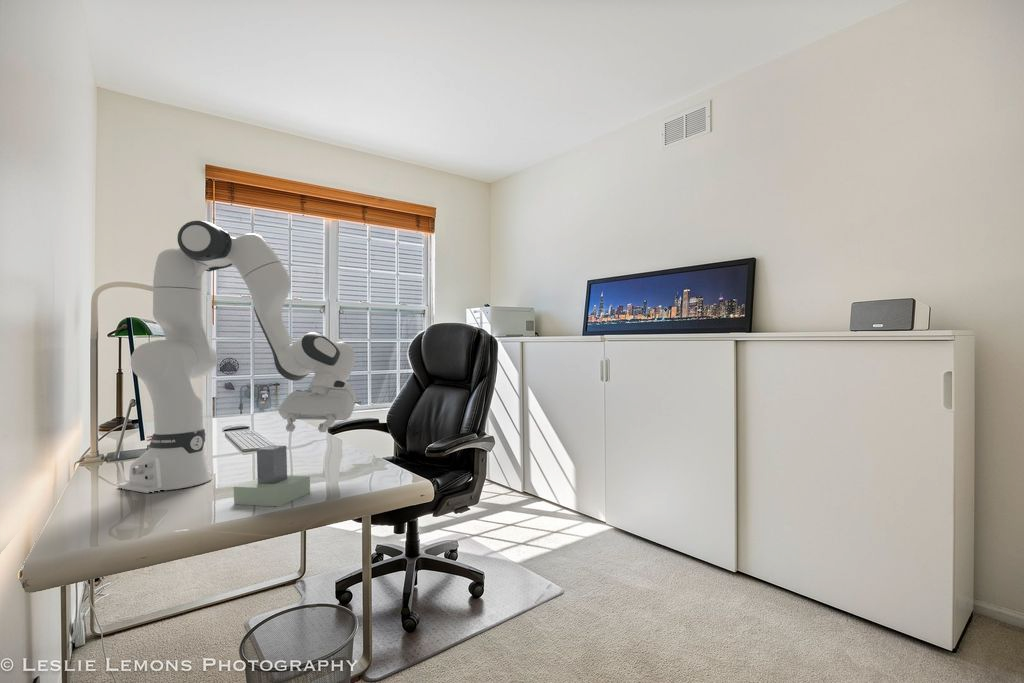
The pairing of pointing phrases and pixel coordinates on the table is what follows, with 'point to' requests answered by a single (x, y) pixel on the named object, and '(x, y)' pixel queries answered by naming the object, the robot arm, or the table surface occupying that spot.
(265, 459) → the block
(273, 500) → the stand
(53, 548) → the table surface
